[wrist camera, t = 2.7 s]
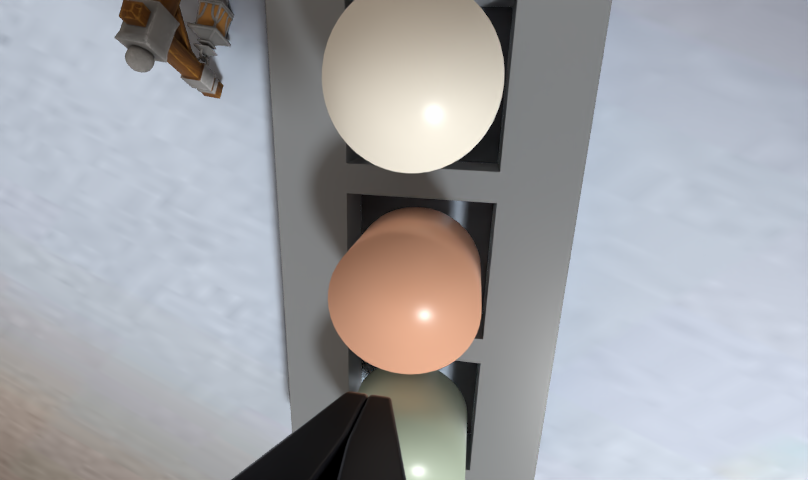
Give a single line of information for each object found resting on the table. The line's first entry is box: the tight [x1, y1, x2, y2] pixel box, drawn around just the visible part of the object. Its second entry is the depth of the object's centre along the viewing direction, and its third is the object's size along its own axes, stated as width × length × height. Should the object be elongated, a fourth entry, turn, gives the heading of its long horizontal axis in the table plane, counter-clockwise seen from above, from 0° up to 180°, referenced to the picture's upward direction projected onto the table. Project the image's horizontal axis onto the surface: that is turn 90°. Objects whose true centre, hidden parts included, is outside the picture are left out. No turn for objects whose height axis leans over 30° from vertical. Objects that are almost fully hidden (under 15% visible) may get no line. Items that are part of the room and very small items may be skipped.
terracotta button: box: [328, 207, 482, 374], centre depth 14 cm, size 4×4×3 cm
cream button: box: [322, 0, 504, 173], centre depth 12 cm, size 4×4×3 cm
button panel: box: [265, 0, 612, 480], centre depth 16 cm, size 10×19×2 cm, turn 178°
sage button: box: [358, 368, 467, 480], centre depth 15 cm, size 4×4×3 cm
